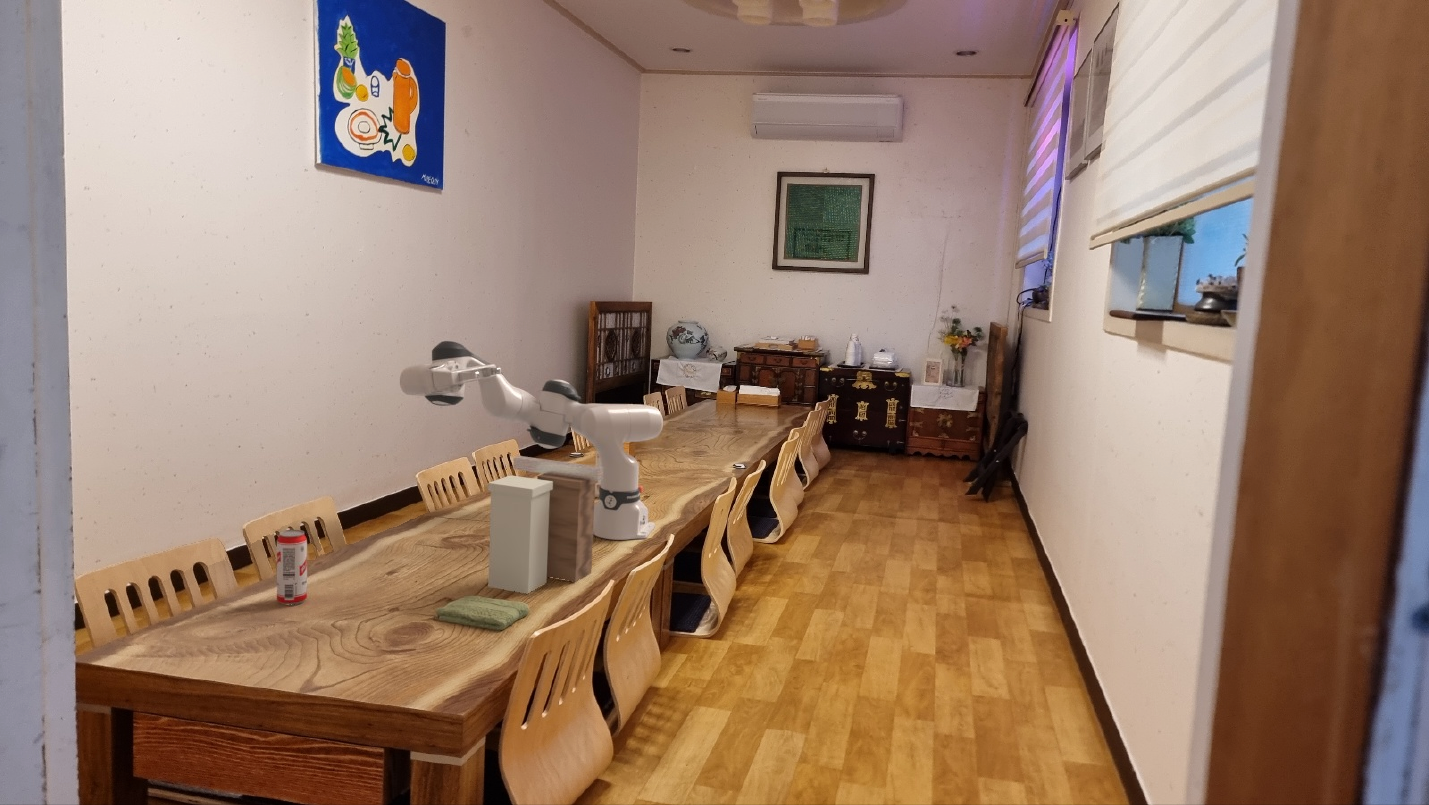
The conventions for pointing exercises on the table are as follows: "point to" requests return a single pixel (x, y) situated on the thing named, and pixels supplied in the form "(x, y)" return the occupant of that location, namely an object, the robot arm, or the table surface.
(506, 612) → the washcloth
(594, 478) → the bar
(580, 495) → the walnut stand
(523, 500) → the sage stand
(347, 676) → the table surface
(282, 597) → the beer can
